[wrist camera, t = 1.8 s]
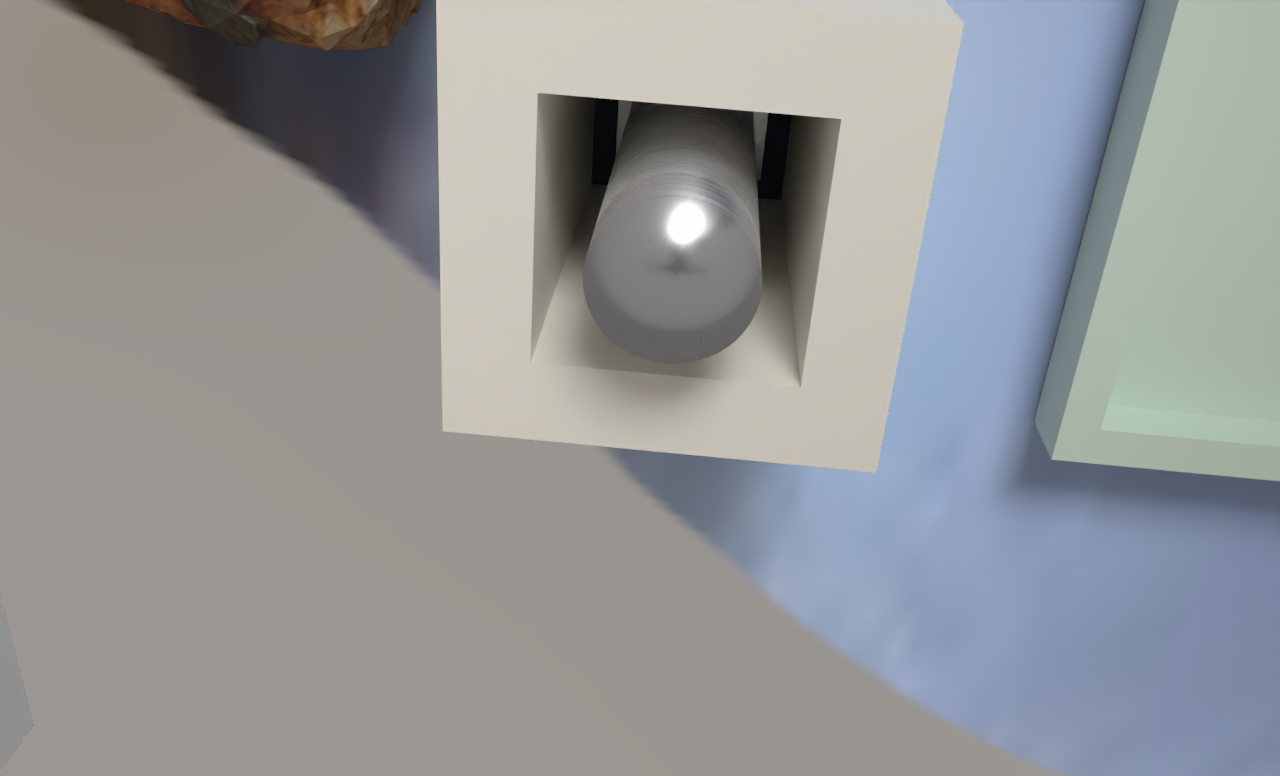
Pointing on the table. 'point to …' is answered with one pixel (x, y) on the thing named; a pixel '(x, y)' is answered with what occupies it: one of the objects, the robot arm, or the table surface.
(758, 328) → the hollow block
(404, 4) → the bread
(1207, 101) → the tray
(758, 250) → the grey metal cylinder
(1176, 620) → the table surface
